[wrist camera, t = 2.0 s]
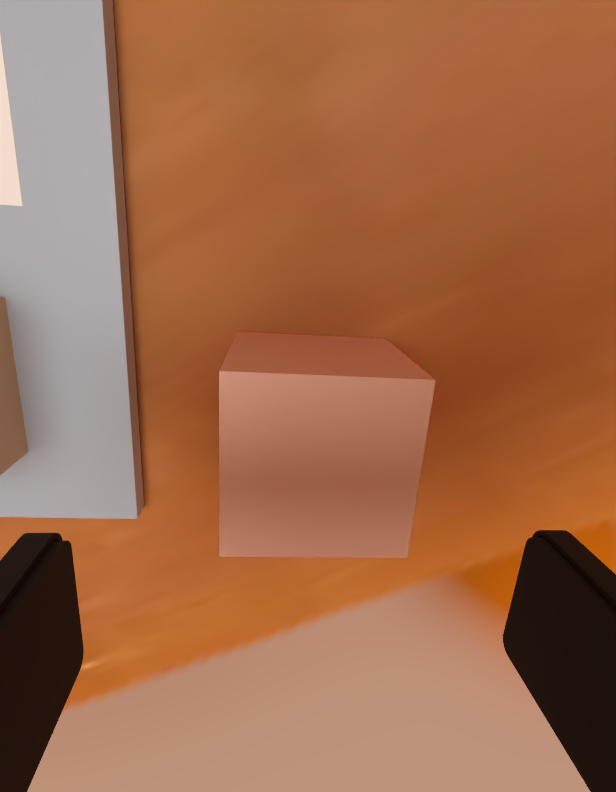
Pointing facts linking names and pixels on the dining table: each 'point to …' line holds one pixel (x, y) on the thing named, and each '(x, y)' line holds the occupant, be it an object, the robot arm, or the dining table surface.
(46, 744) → the robot arm
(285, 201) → the dining table surface
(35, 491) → the board
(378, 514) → the terracotta block
